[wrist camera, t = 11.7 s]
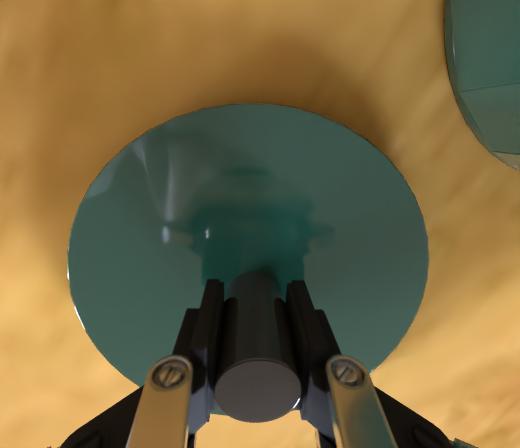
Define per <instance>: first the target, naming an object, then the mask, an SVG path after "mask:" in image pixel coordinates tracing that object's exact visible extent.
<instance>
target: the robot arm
mask: <svg viewBox="0 0 520 448" xmlns="http://www.w3.org/2000/svg"><path fill="white" fill-rule="evenodd" d="M285 306H286V311H287V315H288V320H289V325H290V329H291V334H292V338H293V343H294V348H295V352H296V357H297V362H298V366H299V371H300V375H301V380H302V386H303V388H302V395H301V398H300V400H299V402H298V403H297V405H296V406H295V410H300V413H301V419H302V420H308V422H309V423H311V424H312V425H313V426H314V427H315V436H316V443H317V448H478V447H475V446H473V445H471V444H468V443H466V442H463V441H461V440H459V439H456V438H455V439H454V442H453V441H451V440H449V439H448V438H447V436H446V435H445V434H444V433H443V432H442V431H441V430H440V429H439V428H438V427H436V426H435V425H434V424H432V423H431V422H429V421H428V420H426V419H425V418H423V417H422V416H420V415H419V414H417V413H415V412H414V411H412V410H411V409H409V408H408V407H406V406H405V405H403V404H401V403H400V402H398V401H397V400H395V399H394V398H392V397H391V396H389V395H387V394H386V393H384V392H383V391H381V390H380V389H378V388H377V387H375V386H374V385H373V383H372V380H371V378H370V375H369V373H368V371H367V369H366V367H365V366H364V365H363V364H362V363H361V362H360V361H358V360H357V359H355V358H353V357H351V356H348V355H343V354H342V353H341V351H340V349H339V346H338V344H337V341H336V339H335V336H334V334H333V331H332V329H331V327H330V324H329V322H328V319H327V317H326V314H325V312H324V310H322V309H315V308H314V306H313V303H312V300H311V297H310V295H309V292H308V289H307V286H306V284H305V281H304V280H292V282H291V283H288V284H287V291H286V301H285ZM223 309H224V282H220V279H207V282H206V286H205V290H204V293H203V297H202V301H201V305H200V308H187V310H186V312H185V315H184V319H183V322H182V325H181V328H180V331H179V334H178V337H177V340H176V343H175V346H174V349H173V352H172V355H169V356H166V357H163V358H161V359H160V360H158V361H157V362H155V363H154V365H153V366H152V367H151V368H150V370H149V372H148V374H147V378H146V381H145V384H144V385H143V386H142V387H140V388H139V389H137V390H136V391H134V392H133V393H131V394H130V395H128V396H127V397H125V398H124V399H122V400H121V401H119V402H118V403H116V404H115V405H113V406H112V407H110V408H109V409H107V410H106V411H104V412H103V413H101V414H100V415H98V416H97V417H95V418H94V419H92V420H91V421H89V422H88V423H86V424H85V425H83V426H82V427H80V428H79V429H77V430H76V431H75V432H74V433H72V434H71V435H70V436H69V437H68V438H67V439H66V440H65V441H64V443H63V444H62V445H61V446H60V447H58V448H196V437H197V431H198V430H199V429H200V428H201V427H202V426H203V425H204V424H205V423H206V422H209V418H210V411H216V405H217V404H216V402H215V399H214V395H213V388H214V380H215V372H216V365H217V357H218V349H219V341H220V333H221V325H222V317H223ZM47 448H51V446H50V447H47Z"/></svg>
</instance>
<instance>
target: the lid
mask: <svg viewBox="0 0 520 448" xmlns="http://www.w3.org/2000/svg"><path fill="white" fill-rule="evenodd" d="M428 265H429V250H428V237H427V232H426V228H425V223H424V219H423V216H422V213H421V211H420V208H419V205H418V203H417V200H416V198H415V196H414V194H413V192H412V191H411V189H410V187H409V185H408V184H407V182H406V180H405V179H404V177H403V175H402V174H401V173H400V172H399V171H398V169H397V168H396V167H395V166H394V165H393V163H392V162H391V161H390V160H389V159H388V157H387V156H385V155H384V154H383V153H382V152H381V151H380V150H379V149H377V148H376V147H375V146H374V145H373V144H372V143H371V142H369V141H368V140H367V139H365V138H364V137H362V136H361V135H359V134H357V133H356V132H354V131H353V130H351V129H350V128H348V127H347V126H345V125H343V124H340V123H338V122H336V121H334V120H331V119H329V118H327V117H325V116H322V115H320V114H317V113H313V112H309V111H306V110H302V109H299V108H295V107H291V106H283V105H275V104H267V103H233V104H226V105H220V106H214V107H208V108H202V109H199V110H196V111H193V112H190V113H187V114H183V115H180V116H177V117H174V118H172V119H170V120H168V121H166V122H164V123H162V124H160V125H158V126H156V127H154V128H152V129H150V130H148V131H146V132H145V133H144V134H142V135H141V136H139V137H138V138H136V139H135V140H133V141H132V142H131V143H129V144H128V145H126V146H125V147H124V148H123V149H122V150H121V151H120V152H119V153H118V154H117V155H116V156H114V157H113V158H112V159H111V160H110V161H109V162H108V163H107V164H106V165H105V167H104V168H103V169H102V170H101V172H100V173H99V174H98V176H97V177H96V178H95V180H94V181H93V182H92V183H91V185H90V187H89V189H88V190H87V192H86V194H85V196H84V198H83V200H82V202H81V203H80V205H79V208H78V211H77V213H76V216H75V219H74V222H73V225H72V228H71V233H70V239H69V245H68V251H67V274H68V281H69V287H70V293H71V297H72V300H73V303H74V306H75V309H76V312H77V315H78V317H79V319H80V321H81V323H82V325H83V327H84V329H85V331H86V333H87V335H88V336H89V337H90V339H91V340H92V342H93V343H94V345H95V346H96V348H97V349H98V350H99V351H100V353H101V354H102V355H103V356H104V357H105V358H106V359H107V361H108V362H109V363H110V364H111V365H112V366H114V367H115V368H116V369H117V370H118V371H119V372H120V373H121V374H122V375H124V376H125V377H126V378H128V379H129V380H130V381H132V382H133V383H135V384H136V385H138V386H139V387H142V386H143V385H144V384H145V381H146V378H147V374H148V372H149V370H150V368H151V367H152V366H153V365H154V363H155V362H157V361H158V360H160V359H161V358H163V357H166V356H169V355H172V352H173V349H174V346H175V343H176V340H177V337H178V334H179V331H180V328H181V325H182V322H183V319H184V315H185V312H186V310H187V308H200V305H201V301H202V297H203V293H204V290H205V286H206V282H207V279H220V282H224V309H223V317H222V325H221V333H220V341H219V349H218V357H217V365H216V372H215V380H214V388H213V395H214V399H215V402H216V404H217V405H216V411H210V414H218V415H226V416H230V417H231V418H234V419H236V420H239V421H243V422H250V423H260V422H268V421H272V420H275V419H278V418H280V417H282V416H284V415H286V414H287V413H289V412H290V411H293V410H295V406H296V405H297V403H298V402H299V400H300V398H301V395H302V388H303V386H302V380H301V375H300V371H299V366H298V362H297V357H296V352H295V348H294V343H293V338H292V334H291V329H290V325H289V320H288V315H287V311H286V306H285V301H286V291H287V284H288V283H291V282H292V280H304V281H305V284H306V286H307V289H308V292H309V295H310V297H311V300H312V303H313V306H314V308H315V309H322V310H324V312H325V314H326V317H327V319H328V322H329V324H330V327H331V329H332V331H333V334H334V336H335V339H336V341H337V344H338V346H339V349H340V351H341V353H342V354H343V355H348V356H351V357H353V358H355V359H357V360H358V361H360V362H361V363H362V364H363V365H364V366H365V367H366V369H367V371H368V373H369V374H370V373H371V372H372V371H373V370H375V369H376V368H377V367H378V366H379V365H380V364H381V363H382V362H384V360H385V359H386V358H387V357H388V356H389V355H390V354H391V353H392V352H393V350H394V349H395V348H396V347H397V346H398V344H399V343H400V341H401V340H402V339H403V337H404V336H405V334H406V333H407V331H408V329H409V328H410V326H411V324H412V322H413V320H414V318H415V317H416V314H417V312H418V309H419V306H420V304H421V301H422V299H423V295H424V291H425V286H426V282H427V277H428Z"/></svg>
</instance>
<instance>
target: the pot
mask: <svg viewBox="0 0 520 448" xmlns="http://www.w3.org/2000/svg"><path fill="white" fill-rule="evenodd" d="M444 22H445V52H446V59H447V65H448V72H449V78H450V82H451V85H452V89H453V92H454V95H455V99H456V102H457V104H458V107H459V109H460V111H461V113H462V115H463V117H464V119H465V122H466V123H467V125H468V126H469V128H470V129H471V131H472V132H473V134H474V135H475V137H476V138H477V140H478V141H479V142H480V143H481V144H482V145H483V146H484V147H485V148H486V149H487V150H488V151H489V152H490V153H491V154H492V155H493V156H495V157H496V158H498V159H499V160H500V161H502V162H503V163H505V164H506V165H507V166H509V167H512V168H514V169H516V170H518V171H520V0H446V7H445V20H444Z"/></svg>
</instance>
